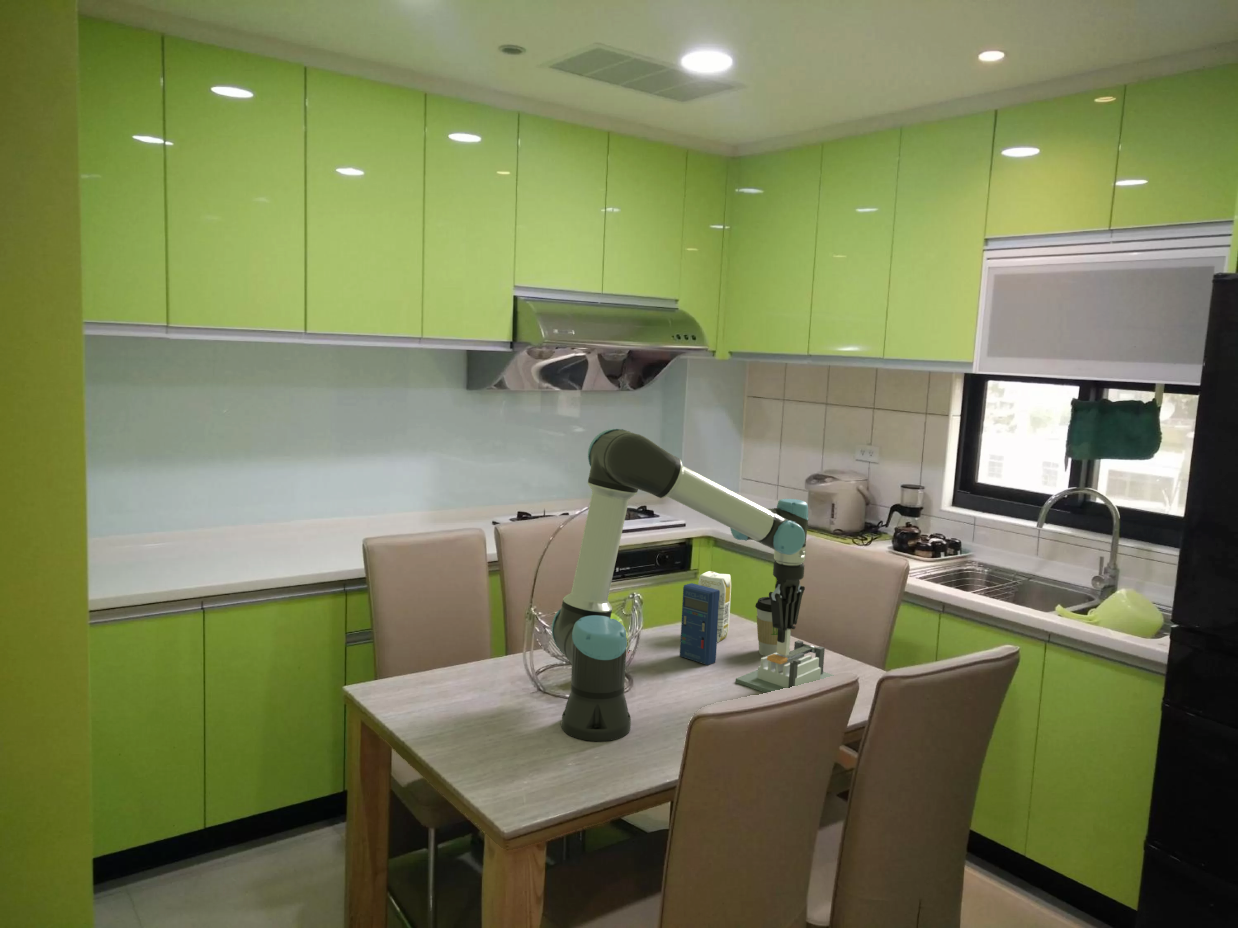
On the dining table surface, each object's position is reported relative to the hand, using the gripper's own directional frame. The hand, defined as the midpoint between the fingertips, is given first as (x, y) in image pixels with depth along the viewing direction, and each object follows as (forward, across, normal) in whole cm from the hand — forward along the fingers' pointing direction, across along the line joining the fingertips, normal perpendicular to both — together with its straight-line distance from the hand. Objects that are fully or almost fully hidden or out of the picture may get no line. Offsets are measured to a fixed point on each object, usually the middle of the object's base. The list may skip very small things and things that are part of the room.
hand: (782, 653), depth 225 cm
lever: (+2, +5, 0) cm, 5 cm away
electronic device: (+9, -1, +26) cm, 27 cm away
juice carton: (+9, +17, +35) cm, 40 cm away
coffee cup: (+9, +19, +16) cm, 26 cm away
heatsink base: (+8, +4, 0) cm, 9 cm away
